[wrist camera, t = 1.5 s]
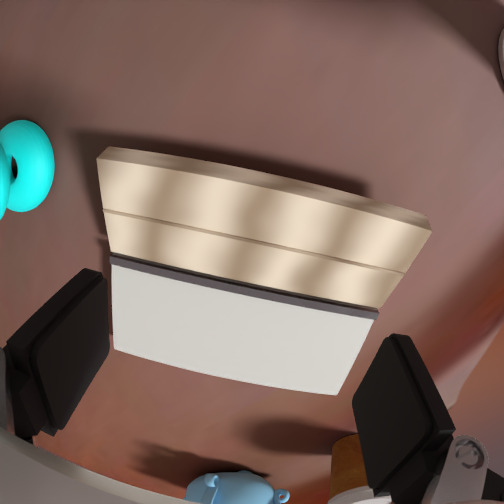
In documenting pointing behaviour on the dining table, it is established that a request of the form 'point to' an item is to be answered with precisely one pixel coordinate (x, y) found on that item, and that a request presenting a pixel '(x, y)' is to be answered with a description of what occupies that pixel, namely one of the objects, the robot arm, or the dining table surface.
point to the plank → (256, 226)
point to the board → (235, 327)
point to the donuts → (24, 166)
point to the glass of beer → (350, 475)
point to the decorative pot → (233, 489)
